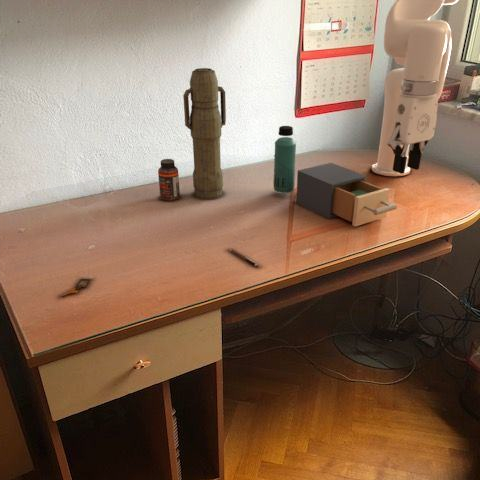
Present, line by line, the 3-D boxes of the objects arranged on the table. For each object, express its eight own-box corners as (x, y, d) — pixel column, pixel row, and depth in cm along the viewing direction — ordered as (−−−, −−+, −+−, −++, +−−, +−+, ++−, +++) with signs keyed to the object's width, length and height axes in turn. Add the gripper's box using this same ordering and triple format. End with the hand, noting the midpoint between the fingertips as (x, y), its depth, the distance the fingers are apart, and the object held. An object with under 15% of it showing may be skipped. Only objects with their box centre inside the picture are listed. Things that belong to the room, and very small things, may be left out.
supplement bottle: (156, 200, 160) (152, 162, 154) (166, 193, 165) (163, 156, 159) (174, 202, 158) (171, 164, 152) (183, 195, 163) (180, 158, 157)
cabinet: (362, 208, 153) (366, 175, 148) (329, 218, 147) (332, 184, 142) (328, 194, 163) (331, 162, 158) (296, 202, 157) (297, 170, 152)
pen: (259, 267, 124) (259, 263, 123) (256, 268, 124) (256, 264, 123) (231, 250, 132) (231, 246, 131) (228, 251, 131) (228, 247, 131)
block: (357, 206, 149) (359, 189, 146) (370, 212, 145) (373, 194, 143) (344, 210, 147) (346, 193, 144) (357, 216, 143) (359, 198, 140)
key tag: (82, 278, 120) (81, 276, 120) (94, 280, 119) (93, 277, 119) (61, 296, 113) (60, 293, 113) (73, 298, 113) (72, 296, 112)
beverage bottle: (294, 190, 166) (297, 123, 155) (294, 198, 160) (297, 129, 149) (273, 190, 166) (275, 123, 155) (272, 197, 161) (274, 129, 150)
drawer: (399, 222, 142) (404, 194, 138) (368, 233, 137) (372, 203, 133) (351, 202, 155) (354, 175, 151) (321, 210, 150) (323, 183, 145)
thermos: (184, 193, 165) (176, 69, 145) (218, 186, 169) (215, 65, 150) (197, 202, 158) (190, 73, 139) (232, 195, 163) (230, 69, 144)
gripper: (405, 95, 111) (392, 181, 121) (458, 86, 119) (441, 167, 129) (379, 89, 117) (368, 172, 127) (431, 81, 124) (417, 160, 134)
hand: (405, 169), depth 128 cm, fingers open, 4 cm apart
